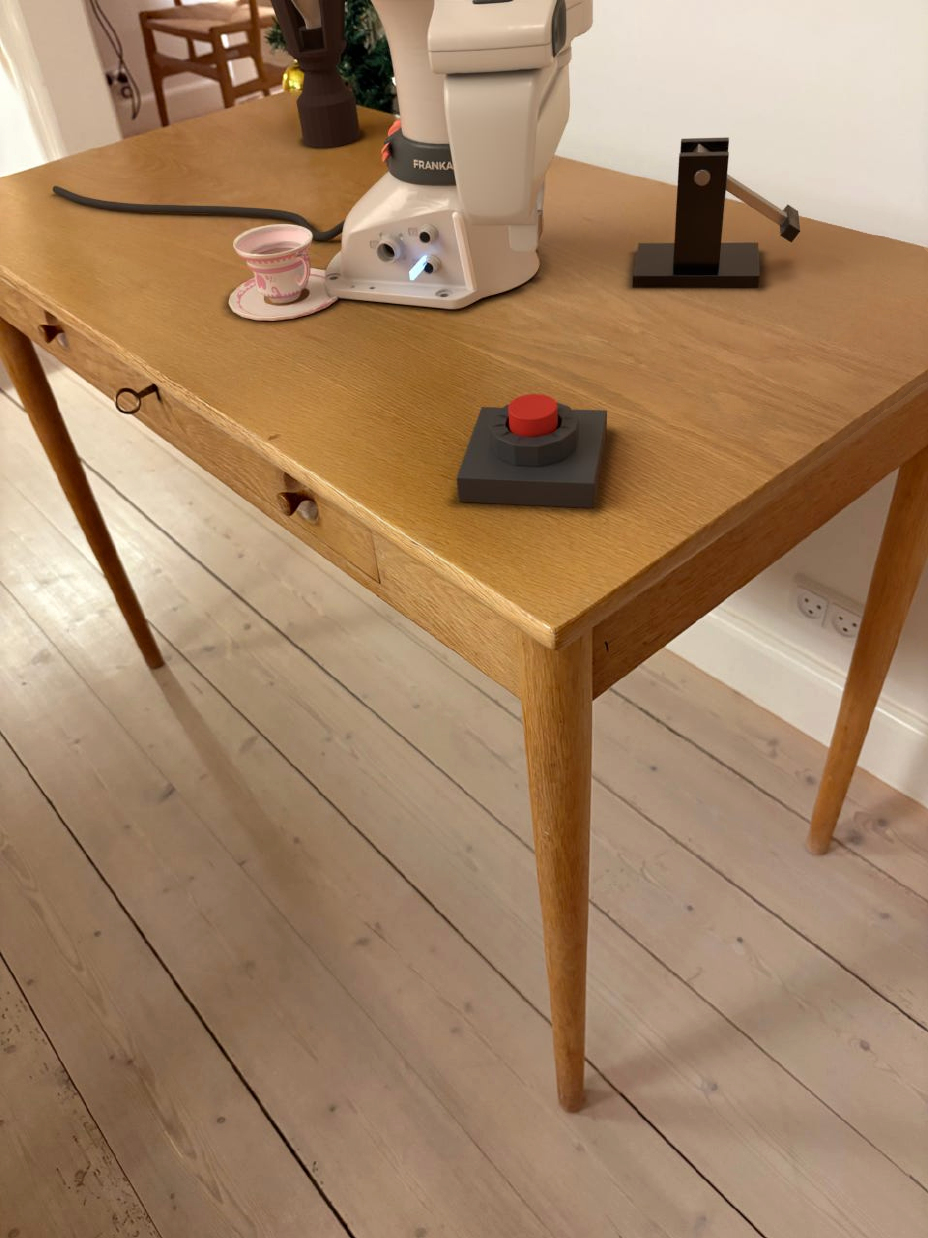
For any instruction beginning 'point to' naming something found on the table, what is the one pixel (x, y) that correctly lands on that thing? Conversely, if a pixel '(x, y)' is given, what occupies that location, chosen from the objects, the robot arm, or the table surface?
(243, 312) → the teacup
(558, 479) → the button box
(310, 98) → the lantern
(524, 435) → the button
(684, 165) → the bracket
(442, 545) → the table surface
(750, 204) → the lever
